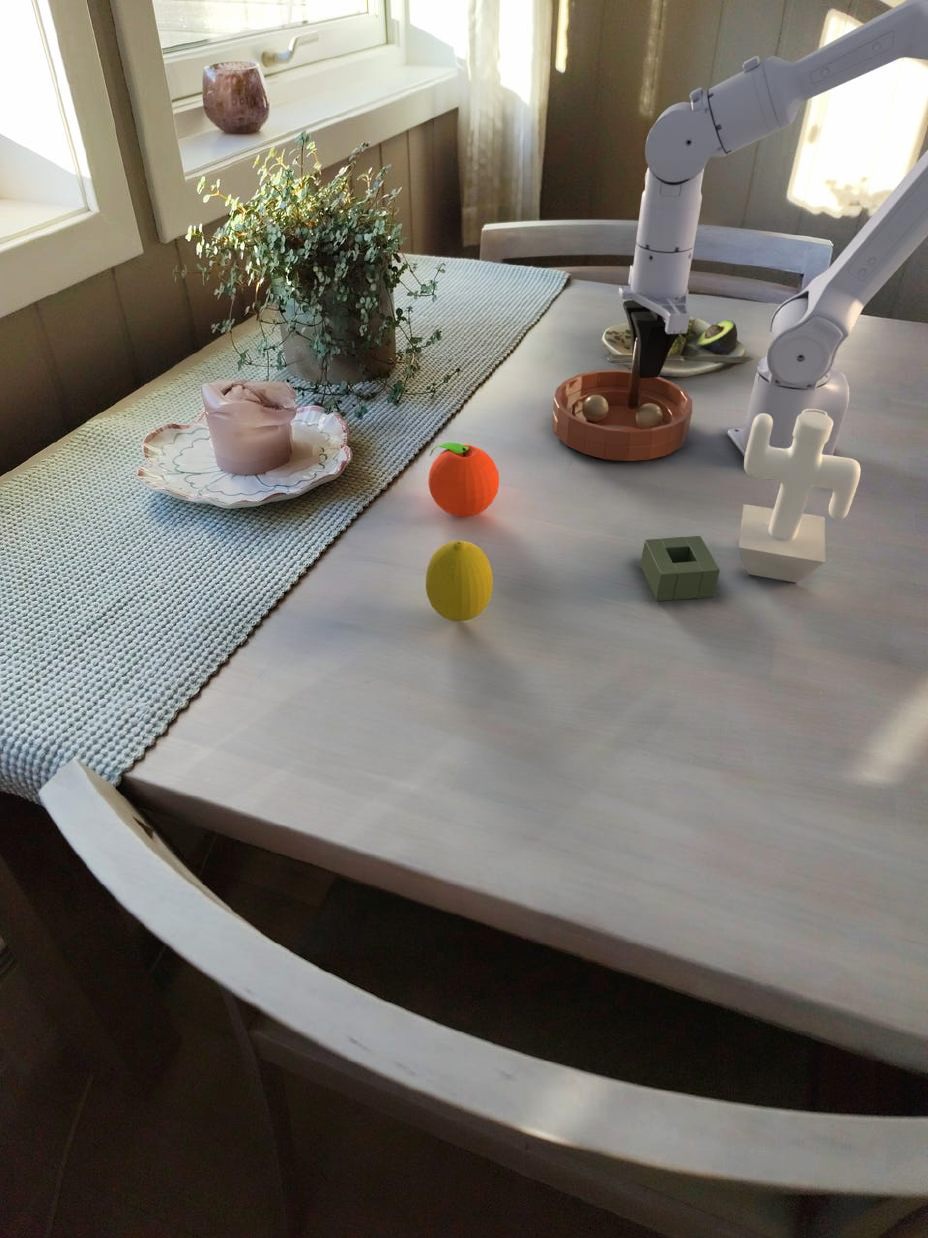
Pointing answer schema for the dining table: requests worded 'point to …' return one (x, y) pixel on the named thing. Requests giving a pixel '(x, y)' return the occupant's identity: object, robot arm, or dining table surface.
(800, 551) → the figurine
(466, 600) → the lemon
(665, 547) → the holder
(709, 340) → the salad plate
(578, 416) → the bowl
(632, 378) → the stick
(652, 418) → the bead
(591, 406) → the bead
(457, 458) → the clementine
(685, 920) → the dining table surface
